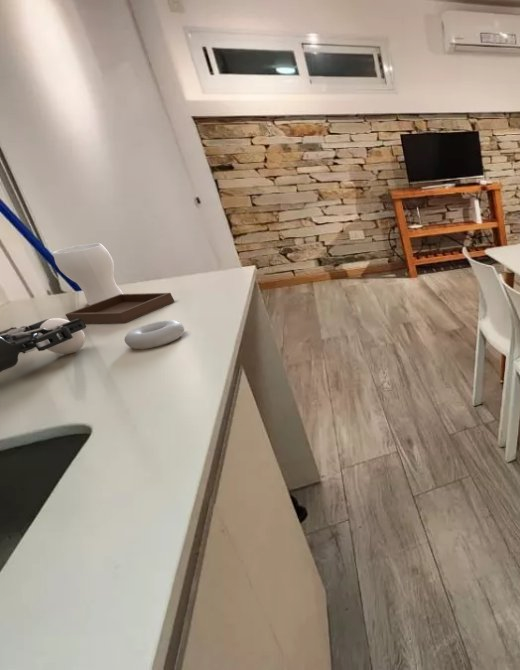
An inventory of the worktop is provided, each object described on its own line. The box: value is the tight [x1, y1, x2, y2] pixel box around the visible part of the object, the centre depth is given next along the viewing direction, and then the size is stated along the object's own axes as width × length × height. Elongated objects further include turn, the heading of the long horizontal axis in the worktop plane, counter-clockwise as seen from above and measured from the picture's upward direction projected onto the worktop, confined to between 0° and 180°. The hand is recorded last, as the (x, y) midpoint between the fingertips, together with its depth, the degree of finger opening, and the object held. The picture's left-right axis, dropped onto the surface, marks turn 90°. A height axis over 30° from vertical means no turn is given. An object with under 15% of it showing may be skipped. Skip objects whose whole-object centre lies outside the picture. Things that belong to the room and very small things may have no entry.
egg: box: [38, 317, 86, 355], centre depth 100 cm, size 6×6×8 cm
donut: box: [124, 319, 185, 350], centre depth 103 cm, size 10×3×10 cm
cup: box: [52, 242, 124, 306], centre depth 129 cm, size 11×11×15 cm
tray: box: [64, 292, 176, 325], centre depth 122 cm, size 16×14×3 cm
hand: (67, 323), depth 101 cm, fingers open, 7 cm apart
